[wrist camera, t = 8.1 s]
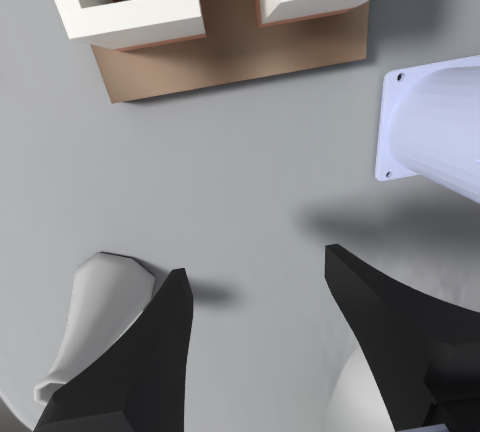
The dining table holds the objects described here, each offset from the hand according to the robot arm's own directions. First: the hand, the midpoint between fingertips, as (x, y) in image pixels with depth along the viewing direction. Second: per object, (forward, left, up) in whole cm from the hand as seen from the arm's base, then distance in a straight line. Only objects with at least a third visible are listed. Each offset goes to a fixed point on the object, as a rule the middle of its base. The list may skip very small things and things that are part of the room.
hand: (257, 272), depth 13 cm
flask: (+13, +6, -10) cm, 17 cm away
